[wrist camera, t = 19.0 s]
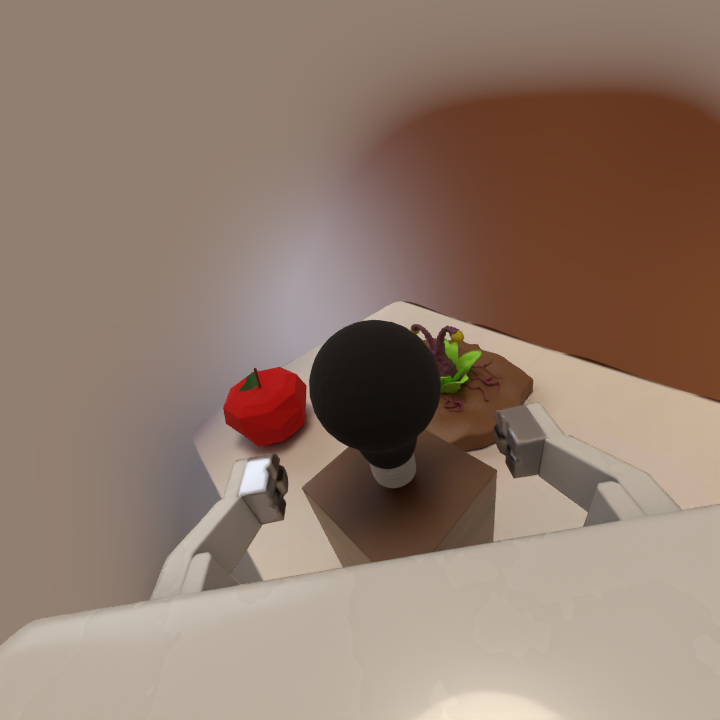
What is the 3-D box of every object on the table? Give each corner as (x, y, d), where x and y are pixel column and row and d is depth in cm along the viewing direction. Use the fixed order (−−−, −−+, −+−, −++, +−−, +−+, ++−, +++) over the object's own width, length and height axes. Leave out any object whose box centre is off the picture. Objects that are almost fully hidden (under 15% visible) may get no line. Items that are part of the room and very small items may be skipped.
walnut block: (491, 583, 27) (497, 470, 18) (429, 680, 23) (401, 592, 14) (414, 520, 32) (391, 409, 24) (354, 589, 28) (301, 487, 20)
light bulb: (466, 512, 17) (460, 350, 11) (353, 541, 17) (288, 393, 11) (429, 428, 21) (412, 286, 16) (341, 451, 21) (293, 316, 16)
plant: (456, 487, 34) (452, 409, 27) (344, 404, 48) (324, 339, 41) (555, 385, 42) (569, 307, 36) (436, 339, 56) (431, 277, 50)
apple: (266, 398, 53) (241, 346, 47) (326, 402, 49) (306, 347, 43) (226, 452, 45) (190, 397, 39) (294, 462, 41) (265, 403, 35)
